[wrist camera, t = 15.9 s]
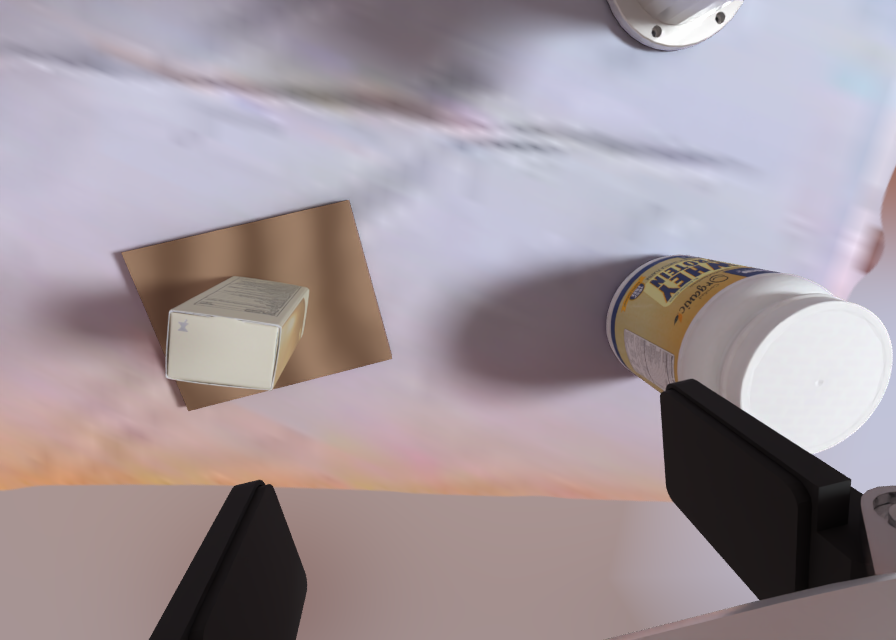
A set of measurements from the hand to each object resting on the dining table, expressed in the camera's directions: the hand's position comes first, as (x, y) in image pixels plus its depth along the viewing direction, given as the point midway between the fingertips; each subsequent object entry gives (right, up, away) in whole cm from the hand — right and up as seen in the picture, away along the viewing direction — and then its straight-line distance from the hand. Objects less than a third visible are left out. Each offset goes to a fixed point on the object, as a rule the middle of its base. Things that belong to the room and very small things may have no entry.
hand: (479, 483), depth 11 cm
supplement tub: (+20, +4, +34) cm, 39 cm away
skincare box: (-16, +5, +28) cm, 32 cm away
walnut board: (-16, +5, +28) cm, 33 cm away
